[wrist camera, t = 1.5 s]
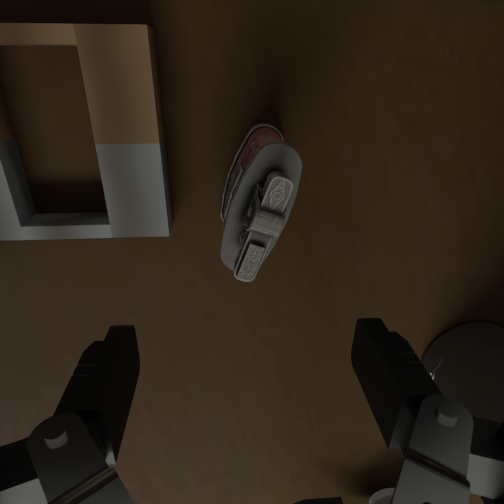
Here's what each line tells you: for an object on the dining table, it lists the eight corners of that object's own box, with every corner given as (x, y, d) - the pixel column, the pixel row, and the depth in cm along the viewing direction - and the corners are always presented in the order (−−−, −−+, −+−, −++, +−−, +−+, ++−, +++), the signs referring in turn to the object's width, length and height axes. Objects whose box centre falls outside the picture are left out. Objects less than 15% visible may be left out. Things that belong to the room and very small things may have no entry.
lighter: (247, 115, 26) (261, 143, 17) (292, 132, 26) (327, 168, 18) (212, 218, 29) (208, 287, 20) (252, 230, 30) (266, 302, 21)
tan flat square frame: (154, 28, 23) (146, 24, 21) (173, 222, 29) (169, 236, 27) (-86, 25, 22) (-121, 21, 20) (-15, 227, 28) (-36, 241, 26)
